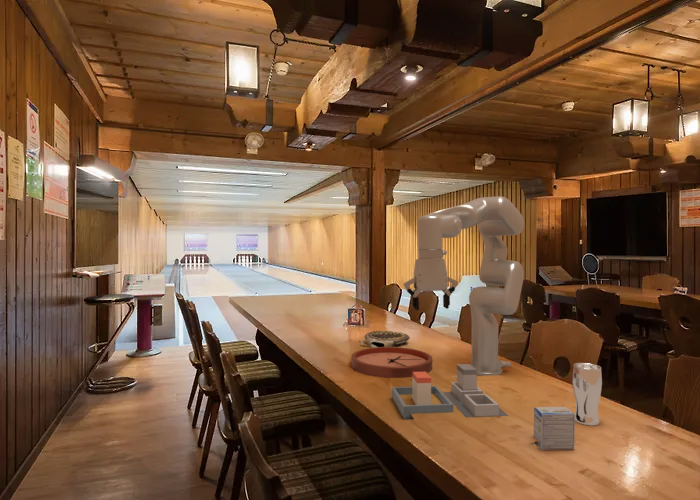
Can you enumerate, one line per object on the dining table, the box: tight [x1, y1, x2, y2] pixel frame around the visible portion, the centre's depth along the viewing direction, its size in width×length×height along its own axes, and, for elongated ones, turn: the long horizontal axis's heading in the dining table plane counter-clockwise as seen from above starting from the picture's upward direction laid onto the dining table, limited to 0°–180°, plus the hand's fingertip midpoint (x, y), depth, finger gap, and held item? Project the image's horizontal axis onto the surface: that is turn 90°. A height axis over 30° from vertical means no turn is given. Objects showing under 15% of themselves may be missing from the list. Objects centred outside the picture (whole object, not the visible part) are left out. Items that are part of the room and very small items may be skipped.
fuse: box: [456, 363, 478, 391], centre depth 135 cm, size 4×6×9 cm, turn 6°
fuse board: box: [442, 381, 509, 418], centre depth 129 cm, size 12×20×4 cm, turn 6°
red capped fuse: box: [411, 372, 432, 405], centre depth 130 cm, size 4×6×9 cm, turn 5°
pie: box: [358, 330, 411, 348], centre depth 212 cm, size 28×27×5 cm
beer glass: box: [572, 362, 603, 427], centre depth 120 cm, size 7×7×15 cm
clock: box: [350, 346, 434, 379], centre depth 174 cm, size 31×4×31 cm
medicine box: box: [533, 406, 576, 451], centre depth 106 cm, size 8×4×9 cm, turn 92°
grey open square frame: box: [391, 385, 454, 420], centre depth 130 cm, size 14×16×4 cm
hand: (431, 308), depth 141 cm, fingers open, 9 cm apart
